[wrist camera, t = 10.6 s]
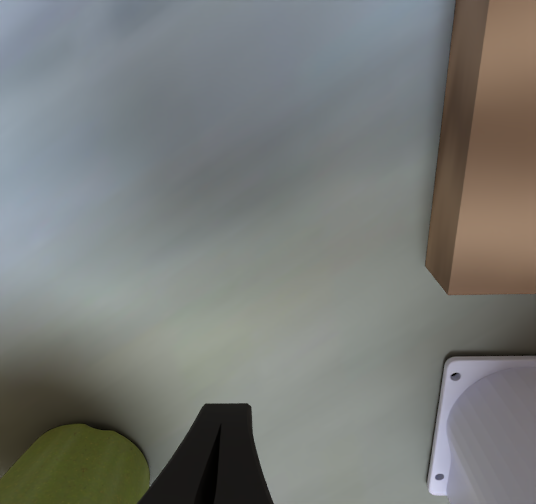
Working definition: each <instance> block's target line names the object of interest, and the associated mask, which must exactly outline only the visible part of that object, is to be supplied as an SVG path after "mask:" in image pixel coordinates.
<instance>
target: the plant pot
mask: <svg viewBox="0 0 536 504" xmlns="http://www.w3.org/2000/svg"><path fill="white" fill-rule="evenodd" d="M149 481H150V472H149V467H148V464H147V462H146V460H145V458H144V456H143V454H142V453H141V451H140V450H139V449H138V448H137V447H136V446H135V445H134V444H133V443H132V442H131V441H129V440H128V439H127V438H125V437H124V436H122V435H120V434H118V433H116V432H114V431H111V430H98V429H95V428H92V427H89V426H88V425H86V424H70V425H64V426H59V427H56V428H53V429H51V430H49V431H47V432H46V433H44V434H43V435H41V436H40V437H39V438H38V439H37V440H36V441H35V442H34V443H33V444H32V445H31V446H30V447H29V449H28V450H27V451H26V452H25V453H24V454H23V455H22V456H21V457H20V458H19V459H18V460H17V461H16V462H15V464H14V465H13V466H12V467H11V468H10V469H9V470H8V471H7V472H6V473H5V474H4V476H3V477H2V478H1V479H0V504H137V502H138V501H139V500H140V499H141V498H142V496H143V495H144V494H145V493H146V491H147V490H148V489H149Z"/></svg>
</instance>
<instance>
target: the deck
mask: <svg viewBox="0 0 536 504" xmlns="http://www.w3.org/2000/svg"><path fill="white" fill-rule="evenodd" d="M425 266H426V268H427V269H428V270H429V272H430V273H431V274H432V275H433V277H434V278H435V279H436V280H437V282H438V283H439V284H440V286H441V287H442V288H443V289H444V291H445V292H446V293H447V294H448V295H482V294H536V0H456V4H455V13H454V22H453V30H452V39H451V48H450V56H449V65H448V74H447V82H446V91H445V99H444V108H443V117H442V125H441V134H440V143H439V151H438V160H437V168H436V177H435V186H434V194H433V203H432V212H431V220H430V229H429V238H428V246H427V255H426V263H425Z"/></svg>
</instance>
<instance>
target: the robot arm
mask: <svg viewBox="0 0 536 504" xmlns="http://www.w3.org/2000/svg"><path fill="white" fill-rule="evenodd" d="M453 373H457V374H456V375H455V376H451V375H452V374H453ZM437 474H438V475H437ZM427 487H428V490H429V492H430V493H431V494H433V495H447V497H448V500H449V502H450V504H536V356H461V357H451V358H449V359H448V360H447V361H446V363H445V366H444V373H443V379H442V386H441V393H440V400H439V406H438V413H437V420H436V427H435V434H434V440H433V447H432V454H431V461H430V468H429V474H428V481H427ZM137 504H274V503H273V501H272V498H271V495H270V493H269V490H268V487H267V484H266V481H265V478H264V475H263V472H262V469H261V466H260V462H259V458H258V455H257V451H256V447H255V443H254V438H253V430H252V411H251V406H250V405H249V404H247V403H239V404H205V405H204V406H203V407H202V408H201V410H200V412H199V414H198V416H197V418H196V419H195V421H194V423H193V425H192V426H191V428H190V430H189V431H188V433H187V435H186V436H185V438H184V440H183V441H182V443H181V444H180V446H179V447H178V449H177V450H176V452H175V453H174V455H173V456H172V458H171V459H170V461H169V462H168V464H167V465H166V466H165V468H164V469H163V470H162V472H161V473H160V474H159V476H158V477H157V478H156V480H155V481H154V482H153V484H152V485H151V486H150V488H149V489H148V490H147V491H146V493H145V494H144V495H143V496H142V498H141V499H140V500H139V501H138V502H137Z"/></svg>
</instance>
